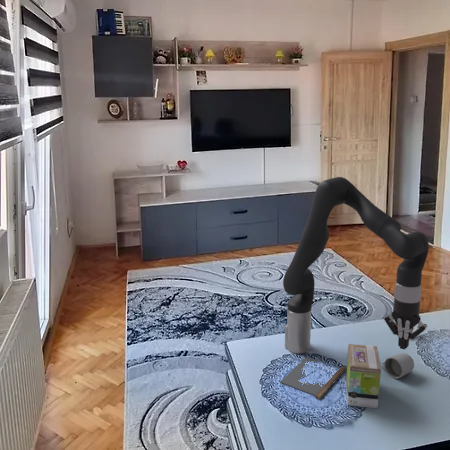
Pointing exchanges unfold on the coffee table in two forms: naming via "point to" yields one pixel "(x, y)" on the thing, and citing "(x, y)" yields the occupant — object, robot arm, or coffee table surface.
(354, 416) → the coffee table surface
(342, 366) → the rail
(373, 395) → the tea box
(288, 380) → the mat
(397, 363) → the ceramic mug
